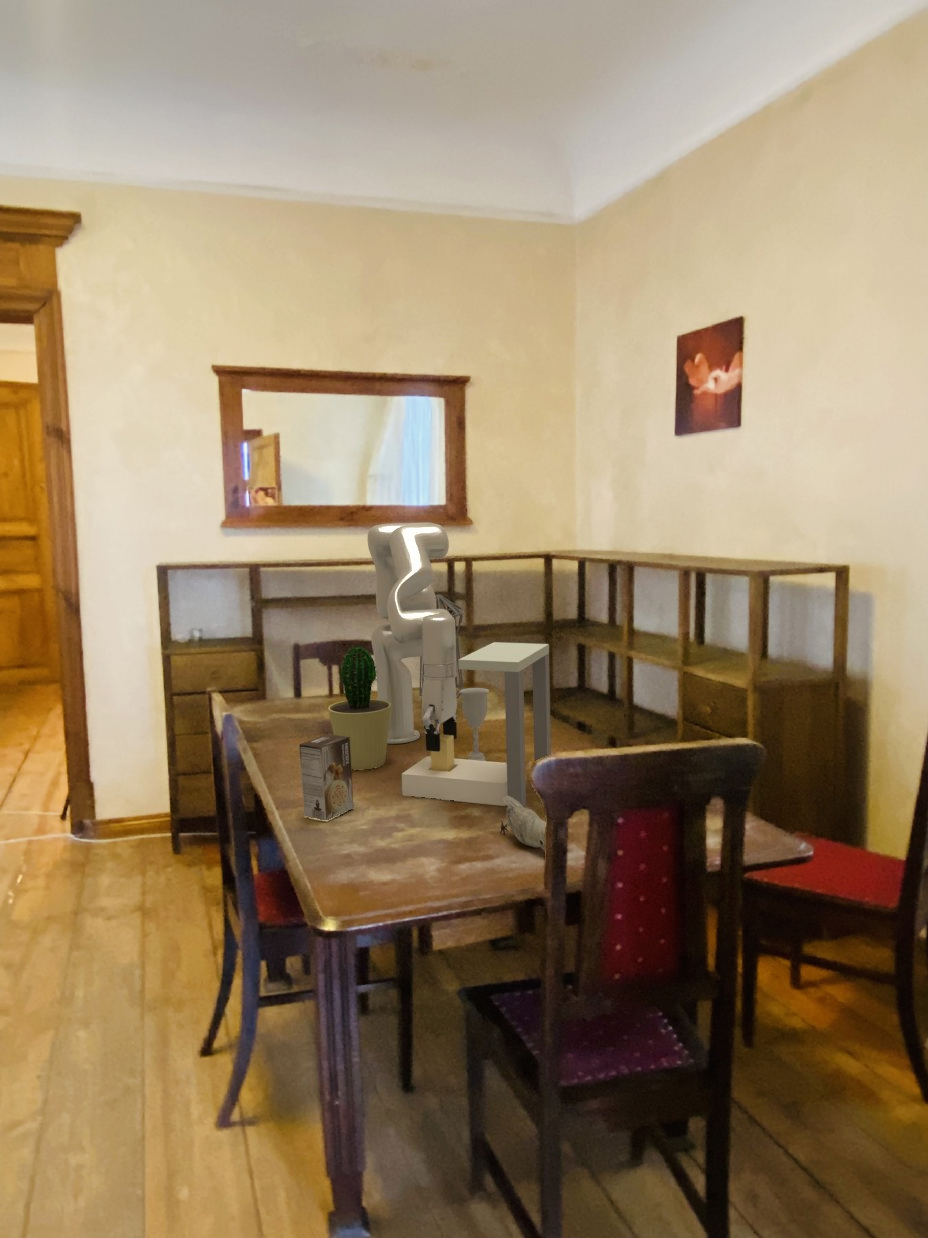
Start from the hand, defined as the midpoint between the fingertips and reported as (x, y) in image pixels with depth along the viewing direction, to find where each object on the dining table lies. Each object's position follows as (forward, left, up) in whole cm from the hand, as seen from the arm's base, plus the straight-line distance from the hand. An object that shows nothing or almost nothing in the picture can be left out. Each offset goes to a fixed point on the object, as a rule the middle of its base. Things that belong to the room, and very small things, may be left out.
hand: (441, 744), depth 205 cm
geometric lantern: (-32, +75, -10) cm, 82 cm away
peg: (0, 0, -10) cm, 10 cm away
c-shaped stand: (+16, 0, -10) cm, 19 cm away
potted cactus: (-27, +12, -10) cm, 31 cm away
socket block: (+5, 0, -10) cm, 11 cm away
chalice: (0, +21, -10) cm, 23 cm away
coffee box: (-17, -22, -10) cm, 30 cm away
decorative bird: (+28, -26, -11) cm, 40 cm away
